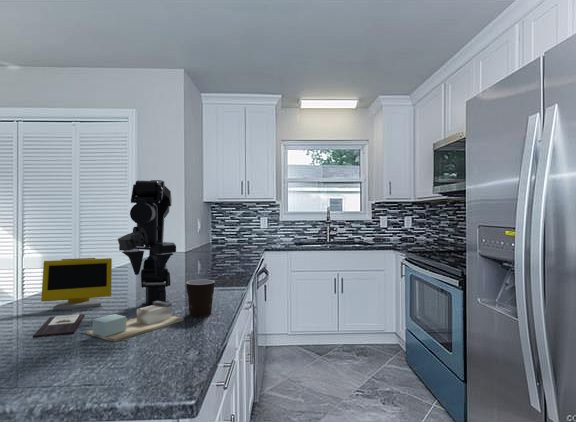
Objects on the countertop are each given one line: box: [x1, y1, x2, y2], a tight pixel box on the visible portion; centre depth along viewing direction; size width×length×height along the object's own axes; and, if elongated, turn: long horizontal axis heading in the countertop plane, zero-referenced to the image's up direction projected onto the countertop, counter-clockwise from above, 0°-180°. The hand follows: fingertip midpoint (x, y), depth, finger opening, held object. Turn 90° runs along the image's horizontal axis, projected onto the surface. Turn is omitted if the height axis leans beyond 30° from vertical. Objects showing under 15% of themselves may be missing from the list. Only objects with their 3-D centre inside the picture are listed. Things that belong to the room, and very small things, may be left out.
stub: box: [92, 313, 127, 337], centre depth 97 cm, size 5×6×4 cm
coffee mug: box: [185, 279, 216, 318], centre depth 118 cm, size 12×9×10 cm
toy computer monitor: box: [40, 257, 113, 311], centre depth 127 cm, size 20×8×16 cm, turn 114°
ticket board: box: [85, 301, 185, 343], centre depth 104 cm, size 12×22×5 cm, turn 149°
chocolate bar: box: [32, 313, 86, 339], centre depth 104 cm, size 9×1×18 cm
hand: (147, 276), depth 112 cm, fingers open, 9 cm apart
